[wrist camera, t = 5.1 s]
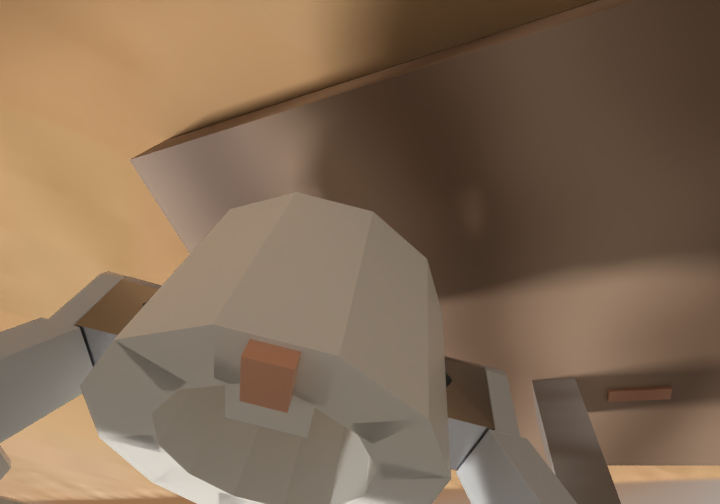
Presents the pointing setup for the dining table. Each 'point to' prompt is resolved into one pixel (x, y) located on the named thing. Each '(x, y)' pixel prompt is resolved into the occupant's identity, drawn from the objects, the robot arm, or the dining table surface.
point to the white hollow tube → (284, 365)
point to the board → (527, 214)
